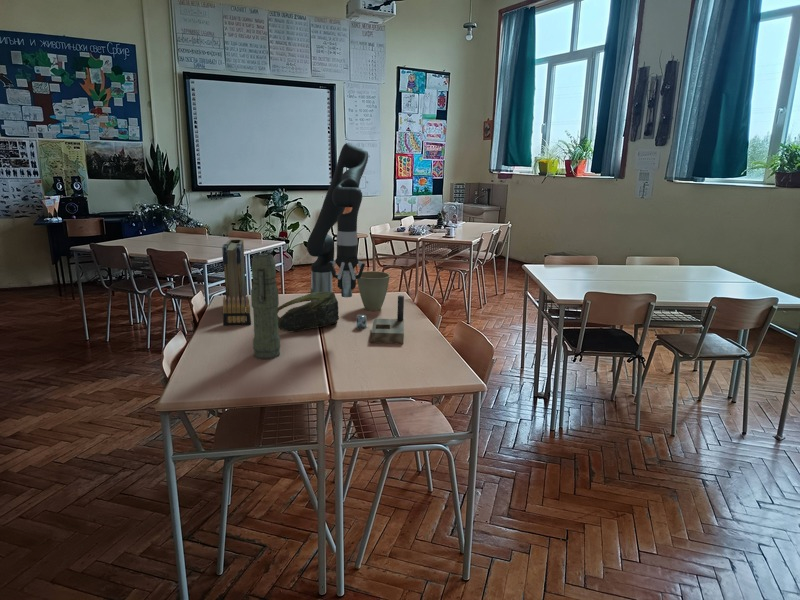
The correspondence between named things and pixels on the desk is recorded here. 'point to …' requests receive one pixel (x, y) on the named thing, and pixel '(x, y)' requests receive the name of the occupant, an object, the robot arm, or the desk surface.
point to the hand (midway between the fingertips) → (346, 288)
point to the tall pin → (346, 284)
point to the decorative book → (234, 270)
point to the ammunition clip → (236, 315)
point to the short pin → (361, 321)
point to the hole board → (389, 327)
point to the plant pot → (373, 289)
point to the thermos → (265, 307)
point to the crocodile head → (310, 312)
